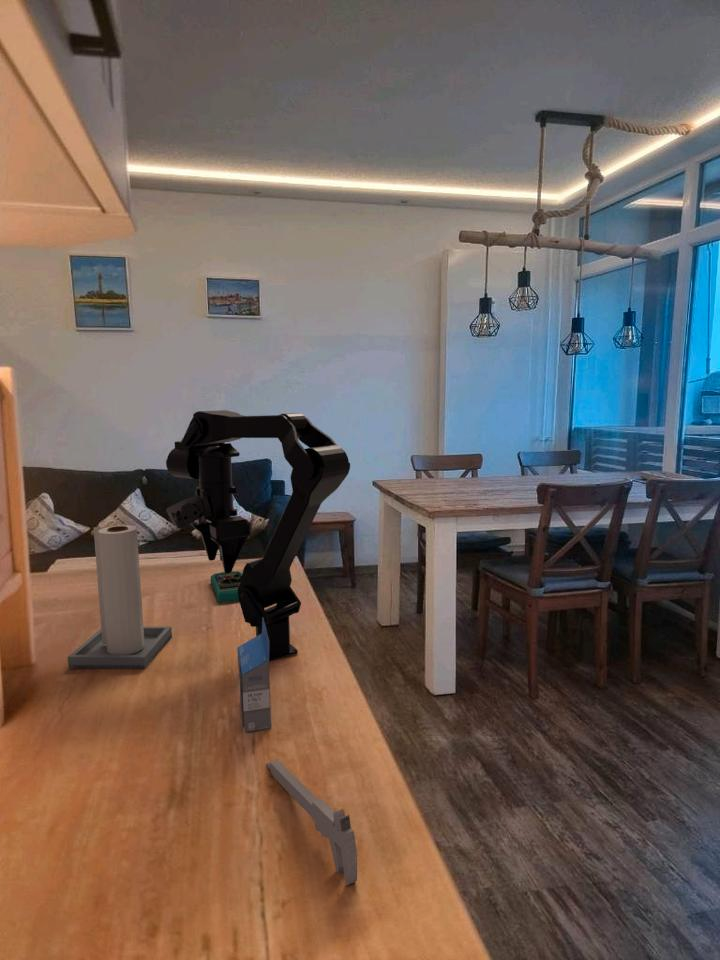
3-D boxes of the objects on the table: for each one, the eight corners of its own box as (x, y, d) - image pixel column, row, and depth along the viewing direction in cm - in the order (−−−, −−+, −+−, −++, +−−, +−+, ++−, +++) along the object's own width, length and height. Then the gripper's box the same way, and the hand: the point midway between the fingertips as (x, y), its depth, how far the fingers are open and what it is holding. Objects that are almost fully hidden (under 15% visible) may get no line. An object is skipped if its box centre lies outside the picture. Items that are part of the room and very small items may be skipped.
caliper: (358, 886, 53) (357, 823, 52) (347, 891, 52) (347, 828, 51) (274, 764, 70) (272, 715, 69) (265, 767, 70) (263, 718, 69)
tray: (172, 636, 107) (171, 626, 107) (145, 668, 94) (144, 657, 94) (104, 636, 107) (103, 626, 107) (68, 668, 95) (67, 657, 94)
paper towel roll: (148, 651, 100) (140, 529, 96) (111, 660, 96) (101, 534, 93) (138, 636, 105) (130, 521, 102) (102, 645, 102) (93, 526, 99)
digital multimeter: (241, 580, 140) (241, 568, 140) (252, 600, 127) (252, 587, 126) (210, 584, 138) (209, 572, 137) (218, 605, 124) (217, 592, 124)
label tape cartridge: (238, 700, 85) (235, 619, 83) (265, 696, 86) (263, 616, 84) (243, 734, 76) (239, 644, 74) (273, 729, 77) (270, 641, 75)
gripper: (157, 478, 107) (162, 560, 110) (184, 493, 92) (189, 588, 94) (216, 474, 113) (219, 552, 115) (251, 486, 97) (254, 576, 100)
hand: (219, 566), depth 106 cm, fingers open, 9 cm apart
